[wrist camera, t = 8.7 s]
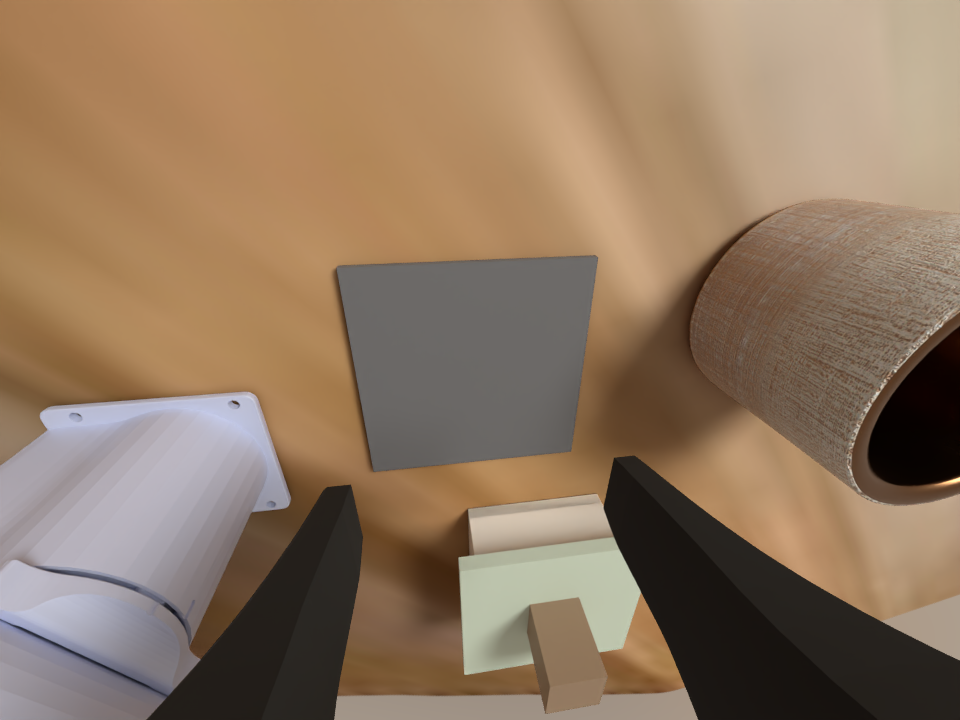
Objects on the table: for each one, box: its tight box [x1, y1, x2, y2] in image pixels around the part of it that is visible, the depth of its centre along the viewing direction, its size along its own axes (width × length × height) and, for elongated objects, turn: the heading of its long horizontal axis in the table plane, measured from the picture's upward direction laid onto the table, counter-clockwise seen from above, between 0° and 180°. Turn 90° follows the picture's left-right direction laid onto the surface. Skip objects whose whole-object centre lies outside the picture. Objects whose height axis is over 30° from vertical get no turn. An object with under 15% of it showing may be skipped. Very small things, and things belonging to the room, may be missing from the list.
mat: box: [337, 255, 598, 472], centre depth 21 cm, size 12×12×1 cm
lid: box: [458, 537, 641, 714], centre depth 22 cm, size 11×11×5 cm
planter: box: [689, 199, 960, 506], centre depth 17 cm, size 11×11×10 cm
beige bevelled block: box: [468, 494, 614, 556], centre depth 26 cm, size 9×9×4 cm
